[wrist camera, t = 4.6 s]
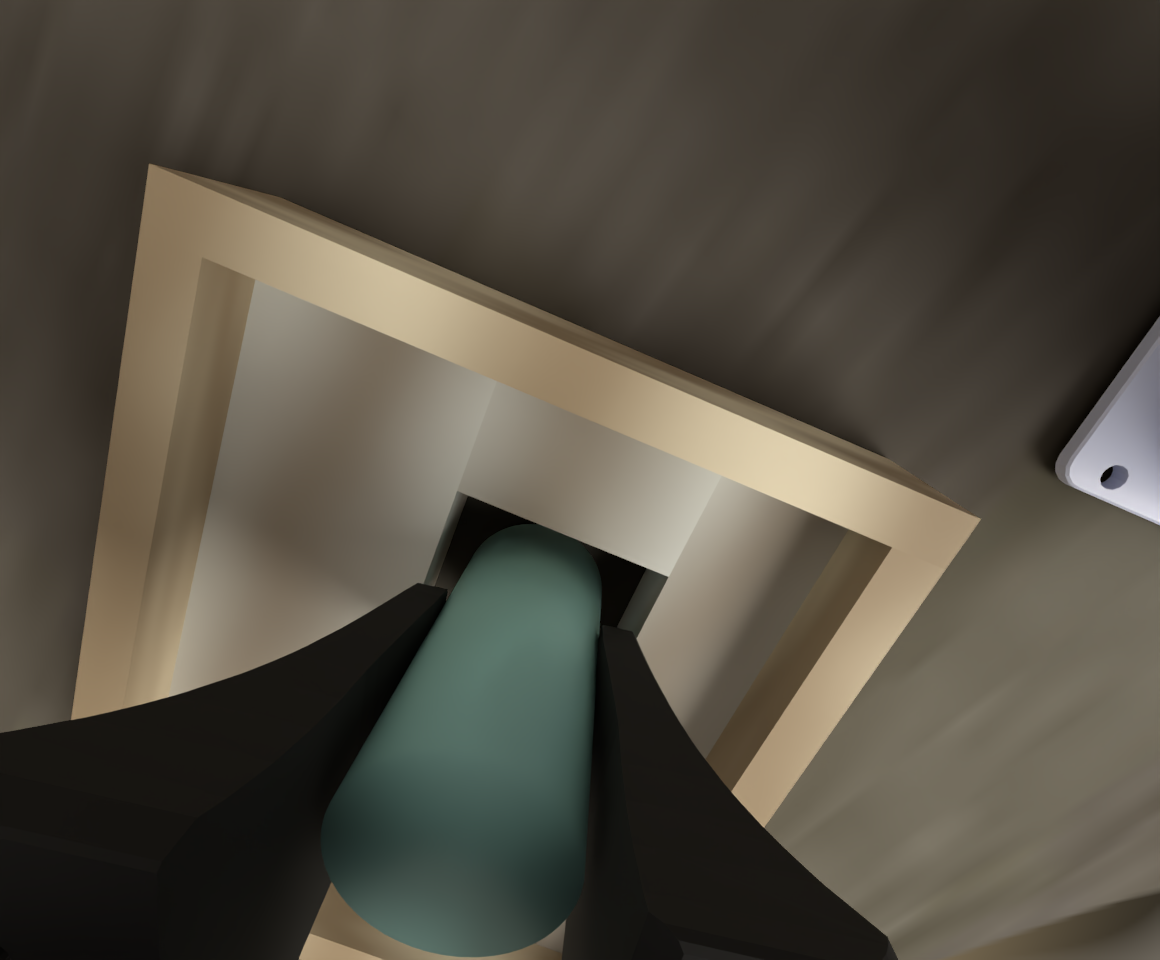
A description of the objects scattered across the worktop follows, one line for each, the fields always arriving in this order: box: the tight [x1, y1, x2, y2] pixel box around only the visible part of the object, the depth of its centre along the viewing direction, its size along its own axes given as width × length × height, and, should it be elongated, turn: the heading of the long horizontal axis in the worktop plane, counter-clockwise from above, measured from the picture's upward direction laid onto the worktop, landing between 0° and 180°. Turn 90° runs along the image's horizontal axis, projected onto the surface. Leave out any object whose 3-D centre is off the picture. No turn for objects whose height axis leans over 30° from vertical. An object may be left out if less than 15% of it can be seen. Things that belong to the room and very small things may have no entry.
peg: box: [321, 524, 602, 957], centre depth 10 cm, size 3×3×7 cm
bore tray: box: [71, 163, 981, 960], centre depth 13 cm, size 14×16×4 cm
